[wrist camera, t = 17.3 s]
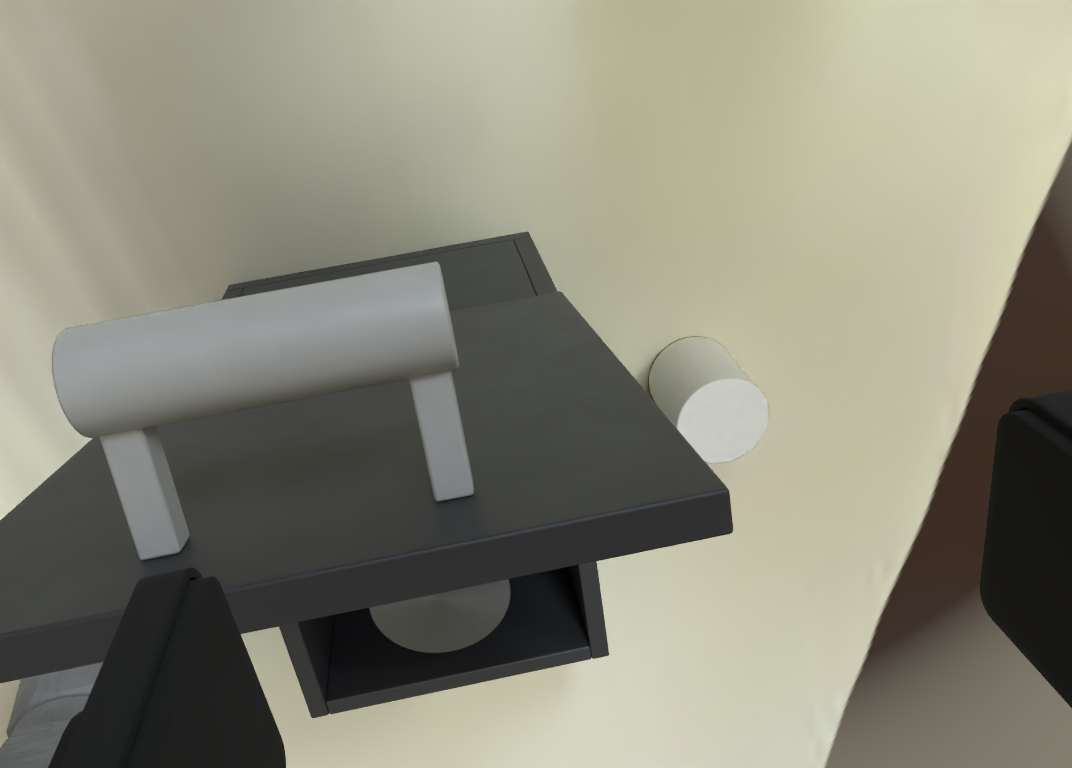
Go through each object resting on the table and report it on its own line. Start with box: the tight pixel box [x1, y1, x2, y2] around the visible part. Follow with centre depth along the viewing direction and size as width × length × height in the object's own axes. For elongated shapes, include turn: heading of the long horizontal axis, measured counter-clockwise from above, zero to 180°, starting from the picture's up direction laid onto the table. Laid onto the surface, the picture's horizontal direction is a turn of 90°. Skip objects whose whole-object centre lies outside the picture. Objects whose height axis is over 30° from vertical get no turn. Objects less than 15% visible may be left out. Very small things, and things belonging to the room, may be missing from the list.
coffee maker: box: [222, 232, 609, 718], centre depth 39 cm, size 18×14×9 cm
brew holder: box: [369, 579, 511, 653], centre depth 41 cm, size 6×6×9 cm
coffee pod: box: [649, 337, 769, 463], centre depth 42 cm, size 4×4×5 cm
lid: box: [0, 262, 733, 683], centre depth 21 cm, size 18×14×5 cm
